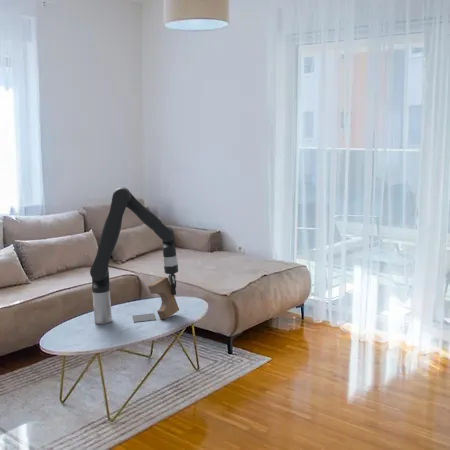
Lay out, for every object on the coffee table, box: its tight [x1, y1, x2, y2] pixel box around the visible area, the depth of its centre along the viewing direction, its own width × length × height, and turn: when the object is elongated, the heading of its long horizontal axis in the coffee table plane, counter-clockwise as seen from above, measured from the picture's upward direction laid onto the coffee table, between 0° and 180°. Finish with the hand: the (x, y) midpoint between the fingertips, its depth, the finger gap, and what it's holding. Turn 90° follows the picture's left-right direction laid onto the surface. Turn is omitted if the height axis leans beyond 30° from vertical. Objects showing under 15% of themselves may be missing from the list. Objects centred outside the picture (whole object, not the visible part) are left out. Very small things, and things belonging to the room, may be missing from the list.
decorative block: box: [147, 276, 180, 320], centre depth 324 cm, size 11×6×20 cm, turn 140°
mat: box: [132, 312, 157, 324], centre depth 327 cm, size 12×11×1 cm
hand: (174, 294), depth 325 cm, fingers closed
